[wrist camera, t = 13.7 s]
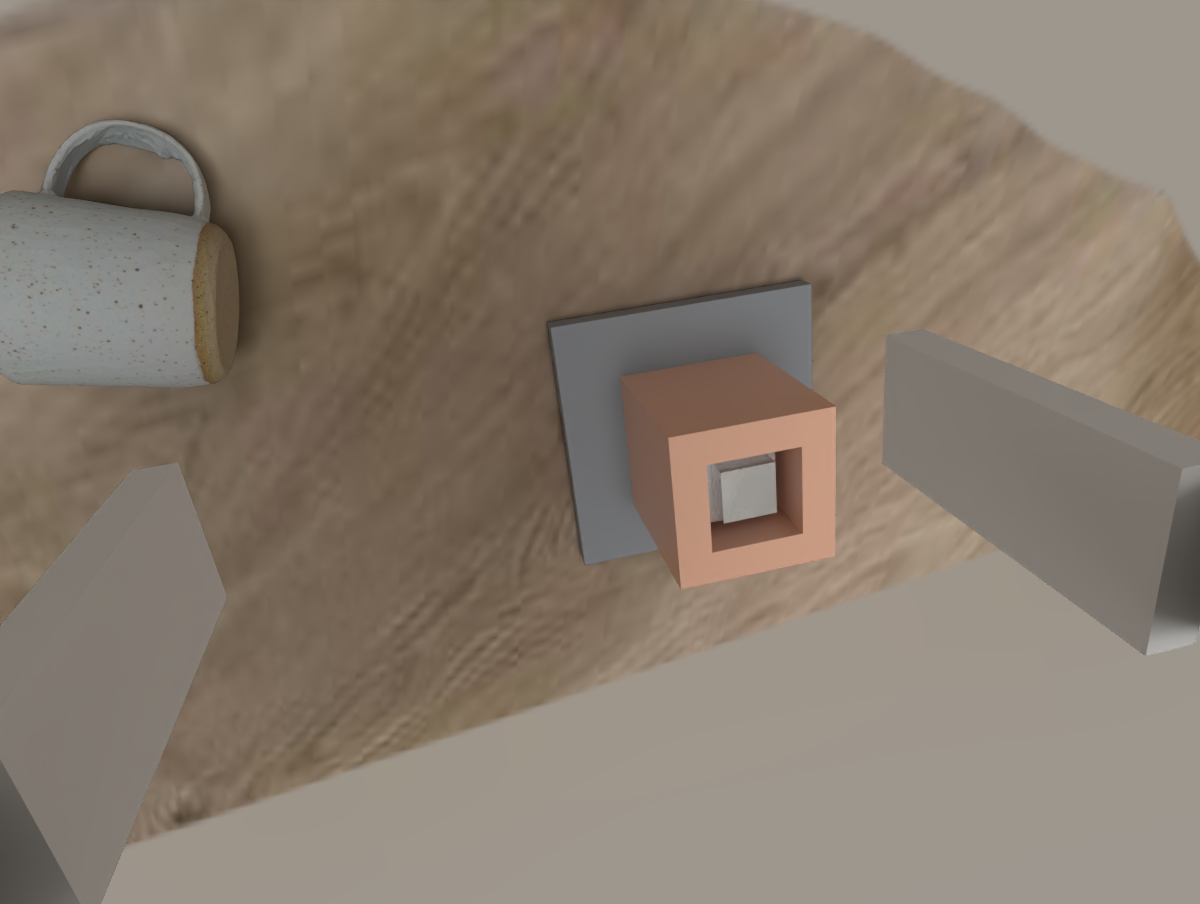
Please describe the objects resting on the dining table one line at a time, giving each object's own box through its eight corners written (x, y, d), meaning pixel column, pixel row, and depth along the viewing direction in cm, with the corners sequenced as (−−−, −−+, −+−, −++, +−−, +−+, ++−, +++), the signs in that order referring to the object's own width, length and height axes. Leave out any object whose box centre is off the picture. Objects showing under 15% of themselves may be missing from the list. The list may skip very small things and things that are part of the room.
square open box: (633, 504, 45) (681, 589, 37) (619, 376, 42) (668, 437, 33) (761, 479, 46) (835, 556, 38) (756, 352, 43) (836, 406, 35)
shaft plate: (581, 555, 47) (585, 565, 46) (547, 322, 41) (550, 327, 40) (804, 508, 49) (813, 516, 47) (801, 279, 43) (811, 284, 42)
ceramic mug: (251, 365, 39) (213, 415, 32) (61, 356, 37) (-22, 407, 30) (240, 133, 35) (196, 131, 28) (30, 110, 33) (-74, 102, 26)
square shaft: (664, 466, 44) (714, 535, 37) (659, 406, 43) (709, 465, 35) (726, 454, 45) (787, 519, 37) (722, 393, 43) (785, 449, 36)
